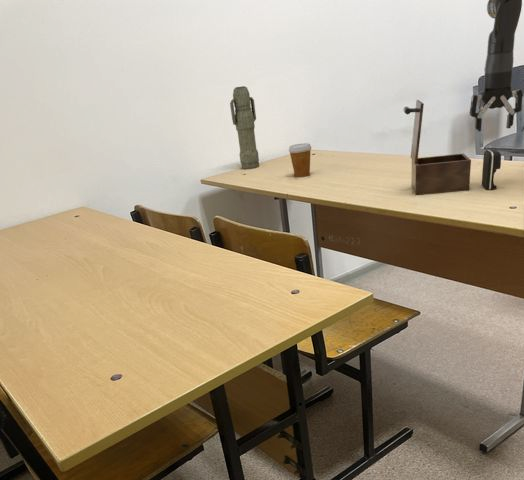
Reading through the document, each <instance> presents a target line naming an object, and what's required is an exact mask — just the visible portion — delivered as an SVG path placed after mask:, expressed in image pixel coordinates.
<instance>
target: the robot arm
mask: <svg viewBox="0 0 524 480" xmlns="http://www.w3.org/2000/svg"><path fill="white" fill-rule="evenodd" d="M522 9H523V0H488V1H487V4H486V13H487V15H488V16H489V17H490V18H491V19H494V21H493V27H492V31H490V32H489V34H488V37H487V38H488V39H487V46H486V47H487V48H486V49H487V50H486V58H485V62H484V63H485V64H484V75H483V89H482V94H472V95H471V97H470V99H471V100H470V106H469V116H470V117H472V118H475V125H474V128H475V130H476V131H477V132H482V123H483V118H482V117H483V115H484V114H485V113H486V112H487V111H488V110H489V109H490V110H494V109H496V108H498V109H502V108H503V109H505V110H506V111H507V113H508V114H507V115H506V118H507V119H506V124H505V125H506V126H505V127H506V129H511V128H512V127H513V126H514V119H515V118H514V117H515V114H516V113H517V114H518V113H520V112H522V109H523V90H522V89H519V88H517V89H516V90H512V80H513V69H514V59H515V58H514V50H515V41H516V39H515V37H516V31H517V27H518V24H519V21H520V17H521V13H522ZM511 97H513V98H514V107H512V105H511V104H510V102H509V100H510V99H511ZM480 100H481V101H482V102H483V104H482V105H481V106H480V108H479V110H478V111H477V105H478V103H479V102H480Z"/></svg>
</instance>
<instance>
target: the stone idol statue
mask: <svg viewBox="0 0 524 480" xmlns="http://www.w3.org/2000/svg"><path fill="white" fill-rule="evenodd" d="M229 107H230V113H231V120H232V121H231V122H232V125H234V126H235V130H236V132H237V138H238V146H239V161H240V166H241V169H242V170H253V169H257V168H259V167H260V157H259V151H258V149H257V143H256V135H255V128H256V127H255V122H256V120H257V116H256V114H257V113H256V105H255V99H254V98H253V97H252V96H250V91H249V89H248V87H247V86H245V85H243V86H236V87H234V88H233V92H232V99H231V100H230V103H229Z"/></svg>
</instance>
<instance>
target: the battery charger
mask: <svg viewBox="0 0 524 480" xmlns="http://www.w3.org/2000/svg"><path fill="white" fill-rule="evenodd" d="M482 158H483V159H482V173H481V174H482V175H481V186H482V188H484V189H485V190H495V189H497V185H495V182H494V181H495V180H494V178H495V173H496V172H497V170H500V169H501V165H502V154H501V152H500V151H498V150H496V149H486V150H484V152H483V157H482Z"/></svg>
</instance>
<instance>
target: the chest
mask: <svg viewBox="0 0 524 480" xmlns="http://www.w3.org/2000/svg"><path fill="white" fill-rule="evenodd" d="M471 166H472V159H470V158H469V157H468V156H467V155H466V154H465V153H464V152H463V153H455V154H445V155H444V154H443V155H433V156H426V157H425V156H424V157H418V161H417V164H414V162H413V160H412V159H411V185H410V186H411V189H412V191H413V194H414V195H415V196H420V195H421V196H422V195H429V194H430V195H431V194H444V193H452V192H453V193H454V192H464V191H470V183H471V181H470V180H471V169H472V168H471Z"/></svg>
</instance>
